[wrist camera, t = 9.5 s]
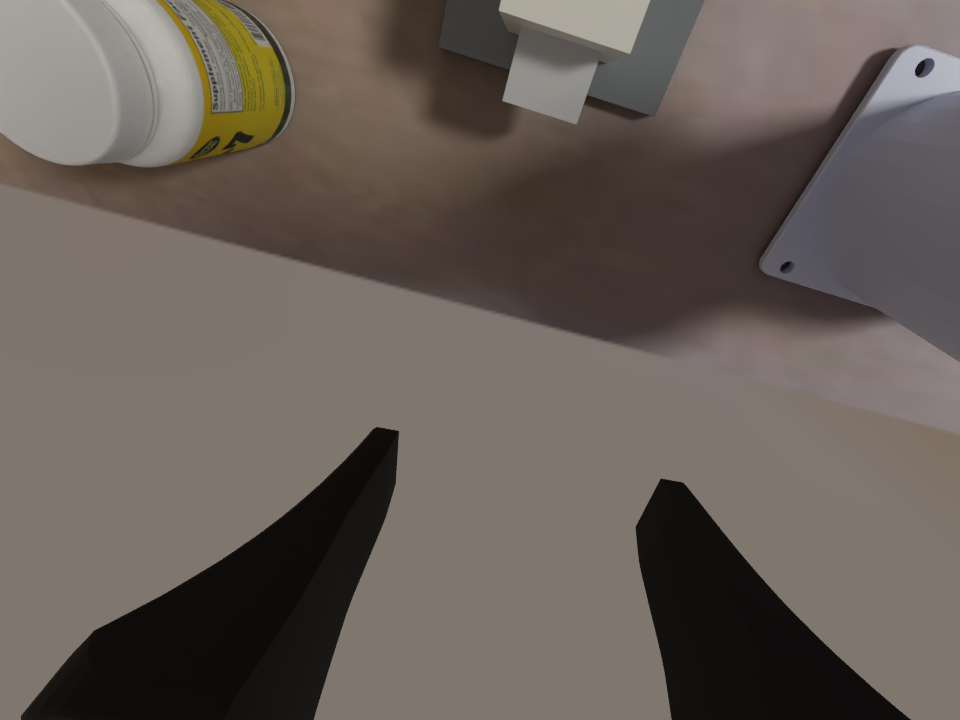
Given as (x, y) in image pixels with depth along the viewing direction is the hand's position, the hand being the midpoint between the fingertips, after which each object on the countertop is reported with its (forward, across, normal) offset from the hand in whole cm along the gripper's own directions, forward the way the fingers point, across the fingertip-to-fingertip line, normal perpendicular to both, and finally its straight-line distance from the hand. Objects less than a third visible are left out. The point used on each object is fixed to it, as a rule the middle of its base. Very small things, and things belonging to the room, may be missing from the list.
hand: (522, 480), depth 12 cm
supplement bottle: (+11, +13, -8) cm, 18 cm away
